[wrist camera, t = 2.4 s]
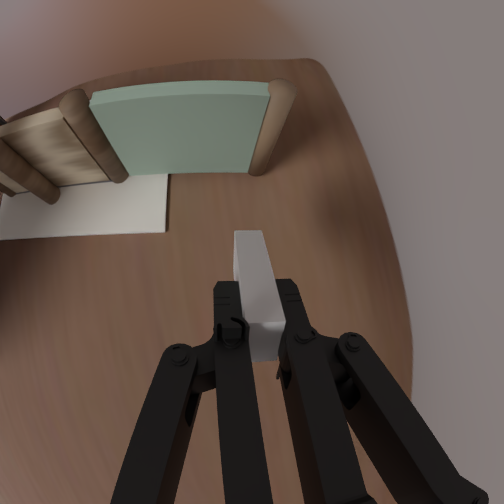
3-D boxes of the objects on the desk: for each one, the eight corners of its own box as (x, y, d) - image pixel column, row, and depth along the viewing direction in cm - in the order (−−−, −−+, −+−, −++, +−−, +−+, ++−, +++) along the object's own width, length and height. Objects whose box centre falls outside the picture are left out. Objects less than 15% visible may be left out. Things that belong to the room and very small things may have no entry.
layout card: (-3, 240, 21) (-5, 240, 21) (27, 118, 24) (26, 116, 24) (165, 232, 24) (164, 231, 24) (177, 90, 27) (177, 88, 27)
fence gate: (130, 179, 24) (86, 107, 13) (132, 163, 24) (93, 87, 13) (265, 176, 26) (299, 100, 14) (264, 160, 26) (295, 80, 15)
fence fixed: (4, 211, 22) (-61, 174, 10) (10, 182, 22) (-49, 138, 10) (126, 198, 24) (73, 129, 12) (130, 164, 25) (88, 86, 13)
